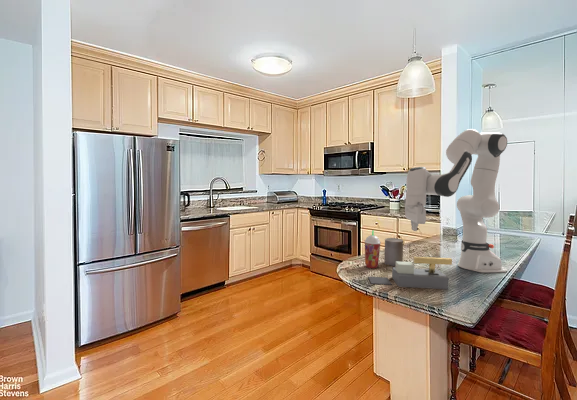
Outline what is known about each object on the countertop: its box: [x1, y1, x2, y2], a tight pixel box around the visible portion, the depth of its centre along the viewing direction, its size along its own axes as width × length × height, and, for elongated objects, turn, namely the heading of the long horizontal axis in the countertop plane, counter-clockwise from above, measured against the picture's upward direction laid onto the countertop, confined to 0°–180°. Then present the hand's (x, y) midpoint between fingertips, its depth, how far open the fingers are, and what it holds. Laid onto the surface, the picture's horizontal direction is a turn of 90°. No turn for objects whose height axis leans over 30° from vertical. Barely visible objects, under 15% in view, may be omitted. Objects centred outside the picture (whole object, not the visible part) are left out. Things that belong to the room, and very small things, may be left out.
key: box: [412, 256, 453, 273], centre depth 137 cm, size 16×2×7 cm, turn 84°
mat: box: [367, 276, 392, 286], centre depth 140 cm, size 9×9×1 cm
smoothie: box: [364, 229, 382, 269], centre depth 161 cm, size 8×8×20 cm
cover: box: [394, 261, 415, 274], centre depth 139 cm, size 7×5×4 cm
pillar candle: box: [383, 236, 404, 267], centre depth 168 cm, size 10×10×15 cm
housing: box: [391, 266, 450, 290], centre depth 138 cm, size 21×12×6 cm, turn 84°
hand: (414, 230), depth 144 cm, fingers closed
